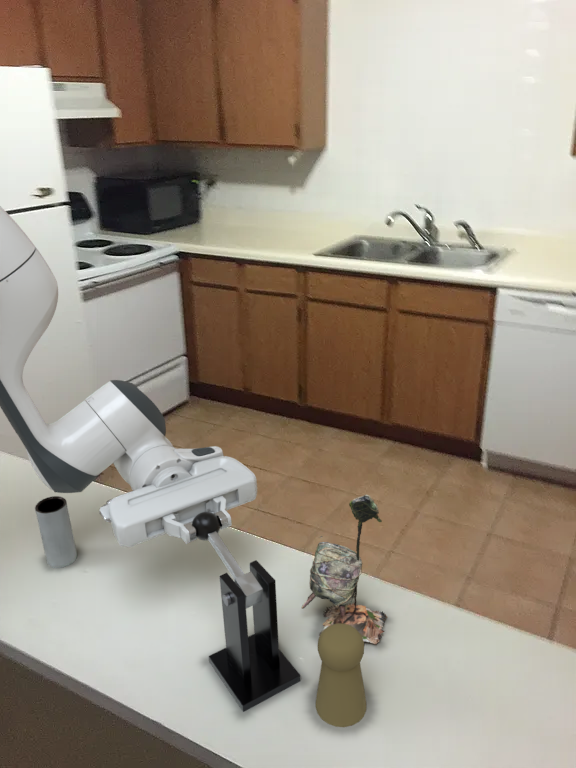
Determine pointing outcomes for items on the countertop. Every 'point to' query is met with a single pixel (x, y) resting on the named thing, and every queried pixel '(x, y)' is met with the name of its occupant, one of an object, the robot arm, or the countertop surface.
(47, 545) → the grey tall hollow cylinder
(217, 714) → the countertop surface
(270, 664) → the black lever stand
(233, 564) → the lever handle
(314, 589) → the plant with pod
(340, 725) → the olive pawn figure
